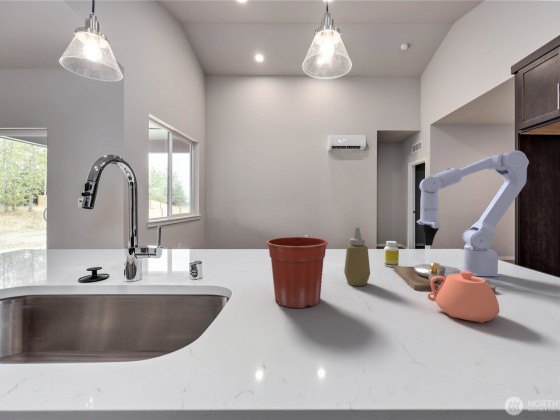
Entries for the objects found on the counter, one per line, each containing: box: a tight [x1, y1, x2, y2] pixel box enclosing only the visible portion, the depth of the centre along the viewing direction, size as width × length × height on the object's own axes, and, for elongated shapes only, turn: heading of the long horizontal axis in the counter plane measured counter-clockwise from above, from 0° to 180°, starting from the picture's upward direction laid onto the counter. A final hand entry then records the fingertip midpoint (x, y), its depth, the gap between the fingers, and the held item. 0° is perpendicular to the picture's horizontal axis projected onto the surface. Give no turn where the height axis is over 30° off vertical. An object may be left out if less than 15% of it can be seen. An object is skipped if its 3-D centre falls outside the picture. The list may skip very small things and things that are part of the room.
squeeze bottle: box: [343, 227, 371, 287], centre depth 86 cm, size 8×8×18 cm
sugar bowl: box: [426, 271, 500, 324], centre depth 63 cm, size 12×14×10 cm
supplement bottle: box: [383, 240, 400, 268], centre depth 108 cm, size 5×5×10 cm
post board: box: [392, 265, 497, 294], centre depth 89 cm, size 22×22×6 cm
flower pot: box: [266, 236, 329, 309], centre depth 72 cm, size 16×16×16 cm
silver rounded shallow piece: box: [413, 262, 461, 281], centre depth 88 cm, size 17×14×4 cm
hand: (428, 245), depth 102 cm, fingers closed
